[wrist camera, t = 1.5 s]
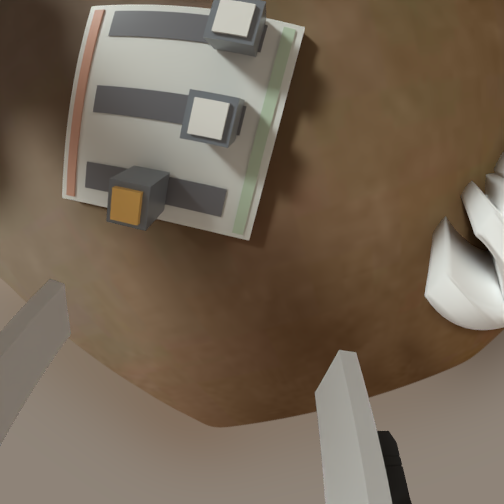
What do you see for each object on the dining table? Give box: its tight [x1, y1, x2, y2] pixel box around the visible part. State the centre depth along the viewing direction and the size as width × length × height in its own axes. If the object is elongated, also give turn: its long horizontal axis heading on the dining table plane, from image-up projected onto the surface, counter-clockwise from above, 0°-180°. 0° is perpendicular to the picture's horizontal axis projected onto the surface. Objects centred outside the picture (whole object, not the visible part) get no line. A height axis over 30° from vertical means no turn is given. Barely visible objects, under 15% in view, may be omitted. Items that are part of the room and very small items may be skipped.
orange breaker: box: [107, 166, 170, 231], centre depth 25 cm, size 4×4×6 cm
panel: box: [62, 0, 305, 241], centre depth 23 cm, size 20×20×7 cm
